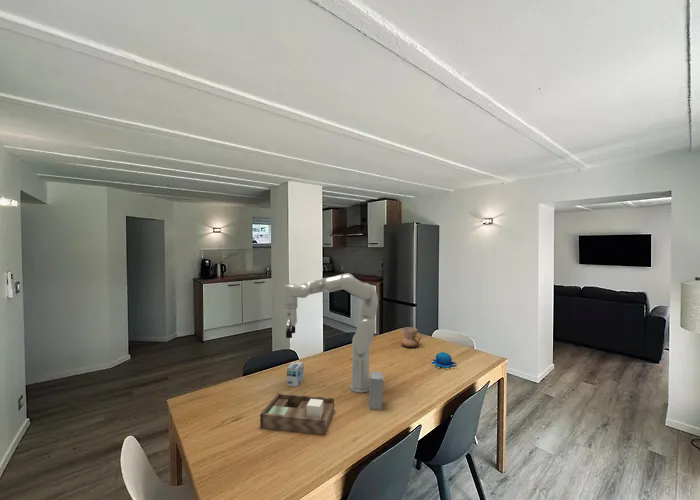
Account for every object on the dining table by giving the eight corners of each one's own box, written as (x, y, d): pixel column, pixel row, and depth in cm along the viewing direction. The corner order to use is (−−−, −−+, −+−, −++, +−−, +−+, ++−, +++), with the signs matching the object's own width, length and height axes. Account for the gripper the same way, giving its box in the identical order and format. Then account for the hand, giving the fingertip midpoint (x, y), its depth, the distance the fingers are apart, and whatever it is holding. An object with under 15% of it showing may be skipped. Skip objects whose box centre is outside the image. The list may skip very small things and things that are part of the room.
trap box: (334, 410, 143) (334, 398, 144) (324, 434, 124) (324, 420, 124) (277, 405, 148) (277, 393, 148) (260, 427, 129) (260, 414, 129)
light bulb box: (297, 387, 168) (297, 368, 168) (286, 386, 169) (286, 367, 169) (303, 379, 178) (304, 361, 178) (293, 378, 179) (293, 360, 179)
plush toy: (456, 362, 208) (456, 350, 208) (456, 371, 192) (456, 358, 192) (432, 359, 214) (432, 347, 214) (430, 367, 198) (430, 355, 198)
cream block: (323, 412, 134) (323, 399, 134) (319, 420, 128) (319, 406, 128) (310, 411, 135) (310, 398, 135) (306, 419, 129) (306, 405, 129)
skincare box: (368, 401, 152) (368, 370, 153) (382, 401, 152) (382, 371, 152) (369, 410, 144) (369, 377, 144) (383, 410, 144) (383, 378, 144)
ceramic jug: (396, 345, 243) (396, 328, 243) (405, 341, 253) (406, 325, 253) (414, 351, 230) (414, 333, 230) (424, 347, 240) (424, 329, 240)
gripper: (294, 308, 160) (294, 339, 160) (299, 303, 177) (299, 331, 177) (280, 308, 160) (280, 339, 160) (287, 303, 178) (287, 331, 177)
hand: (290, 335), depth 169 cm, fingers open, 9 cm apart
